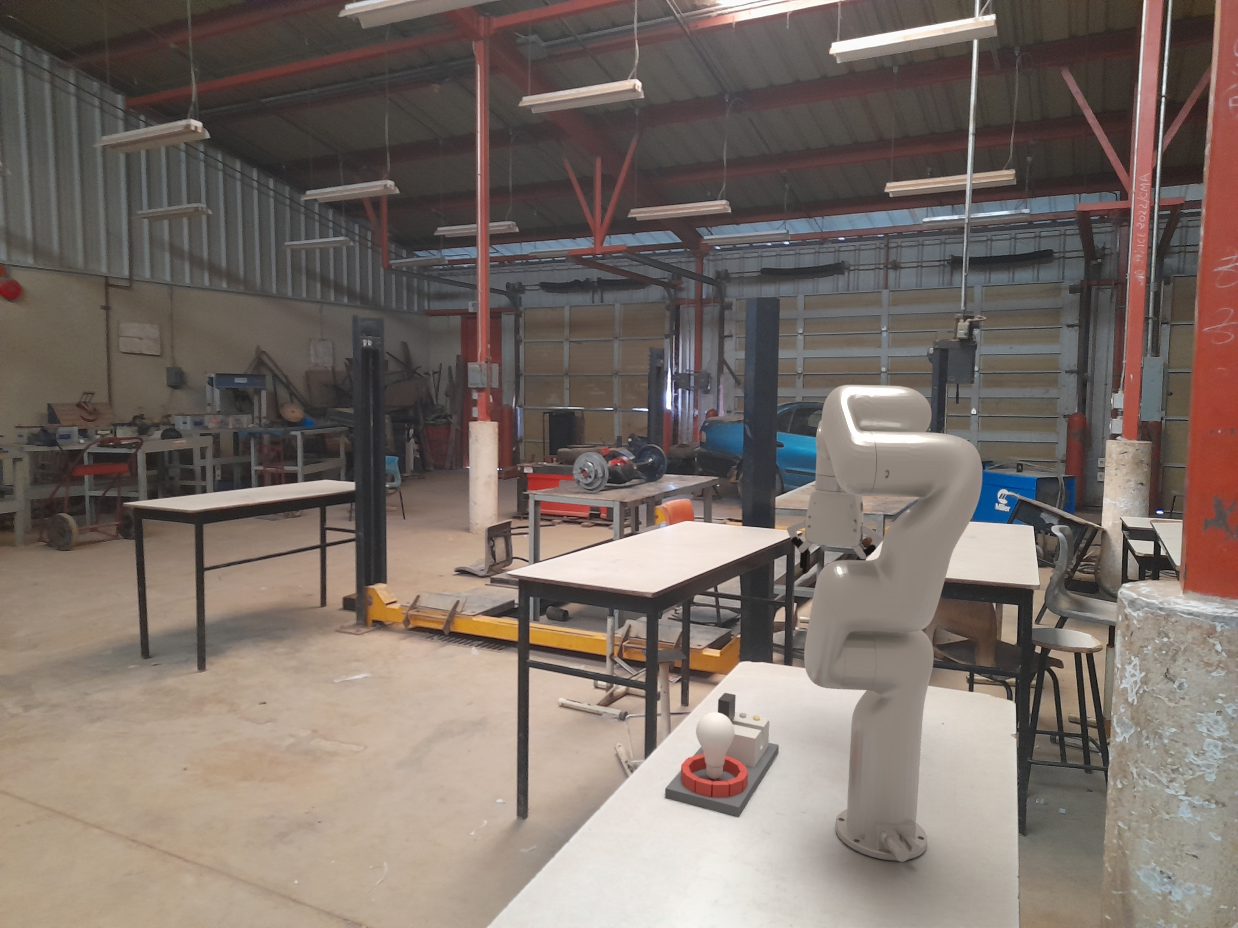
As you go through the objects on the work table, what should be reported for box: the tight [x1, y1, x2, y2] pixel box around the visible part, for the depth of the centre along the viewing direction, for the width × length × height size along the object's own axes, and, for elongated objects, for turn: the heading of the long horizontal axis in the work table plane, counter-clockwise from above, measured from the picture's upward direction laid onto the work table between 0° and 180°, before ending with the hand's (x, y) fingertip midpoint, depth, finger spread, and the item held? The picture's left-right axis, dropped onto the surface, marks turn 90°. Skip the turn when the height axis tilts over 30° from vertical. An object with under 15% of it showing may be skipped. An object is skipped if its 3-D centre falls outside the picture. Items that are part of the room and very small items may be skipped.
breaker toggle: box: [717, 692, 737, 721], centre depth 137 cm, size 4×2×7 cm, turn 154°
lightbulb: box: [695, 711, 734, 780], centre depth 126 cm, size 6×6×11 cm
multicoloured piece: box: [664, 711, 780, 817], centre depth 131 cm, size 24×12×7 cm, turn 154°
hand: (831, 575), depth 146 cm, fingers open, 9 cm apart
